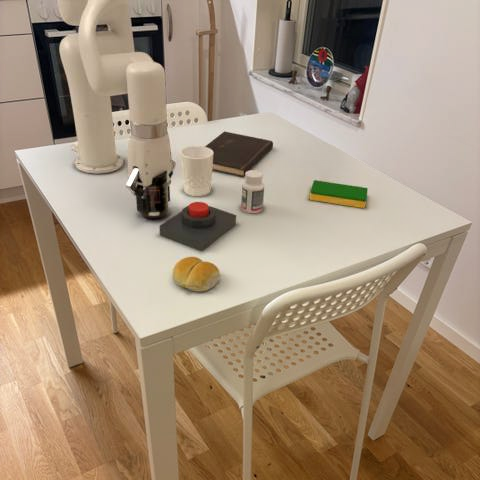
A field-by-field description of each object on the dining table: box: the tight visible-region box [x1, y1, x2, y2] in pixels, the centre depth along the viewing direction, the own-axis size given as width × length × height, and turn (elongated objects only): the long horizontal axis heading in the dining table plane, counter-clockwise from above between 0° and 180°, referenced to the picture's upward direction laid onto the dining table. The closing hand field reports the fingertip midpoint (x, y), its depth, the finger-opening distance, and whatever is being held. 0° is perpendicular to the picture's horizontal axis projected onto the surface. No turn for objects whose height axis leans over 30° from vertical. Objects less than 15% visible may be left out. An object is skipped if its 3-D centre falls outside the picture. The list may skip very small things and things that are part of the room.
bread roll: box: [172, 256, 221, 292], centre depth 99 cm, size 8×9×4 cm
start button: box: [188, 201, 210, 218], centre depth 112 cm, size 4×4×2 cm
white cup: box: [180, 145, 214, 197], centre depth 127 cm, size 8×8×10 cm
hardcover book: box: [204, 131, 274, 178], centre depth 147 cm, size 16×23×2 cm
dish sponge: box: [309, 179, 368, 209], centre depth 130 cm, size 7×14×2 cm, turn 76°
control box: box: [159, 205, 237, 252], centre depth 114 cm, size 11×14×4 cm
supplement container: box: [139, 171, 170, 221], centre depth 116 cm, size 7×7×10 cm
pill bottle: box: [240, 169, 265, 214], centre depth 121 cm, size 5×5×9 cm
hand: (153, 205), depth 118 cm, fingers closed on supplement container, 6 cm apart
